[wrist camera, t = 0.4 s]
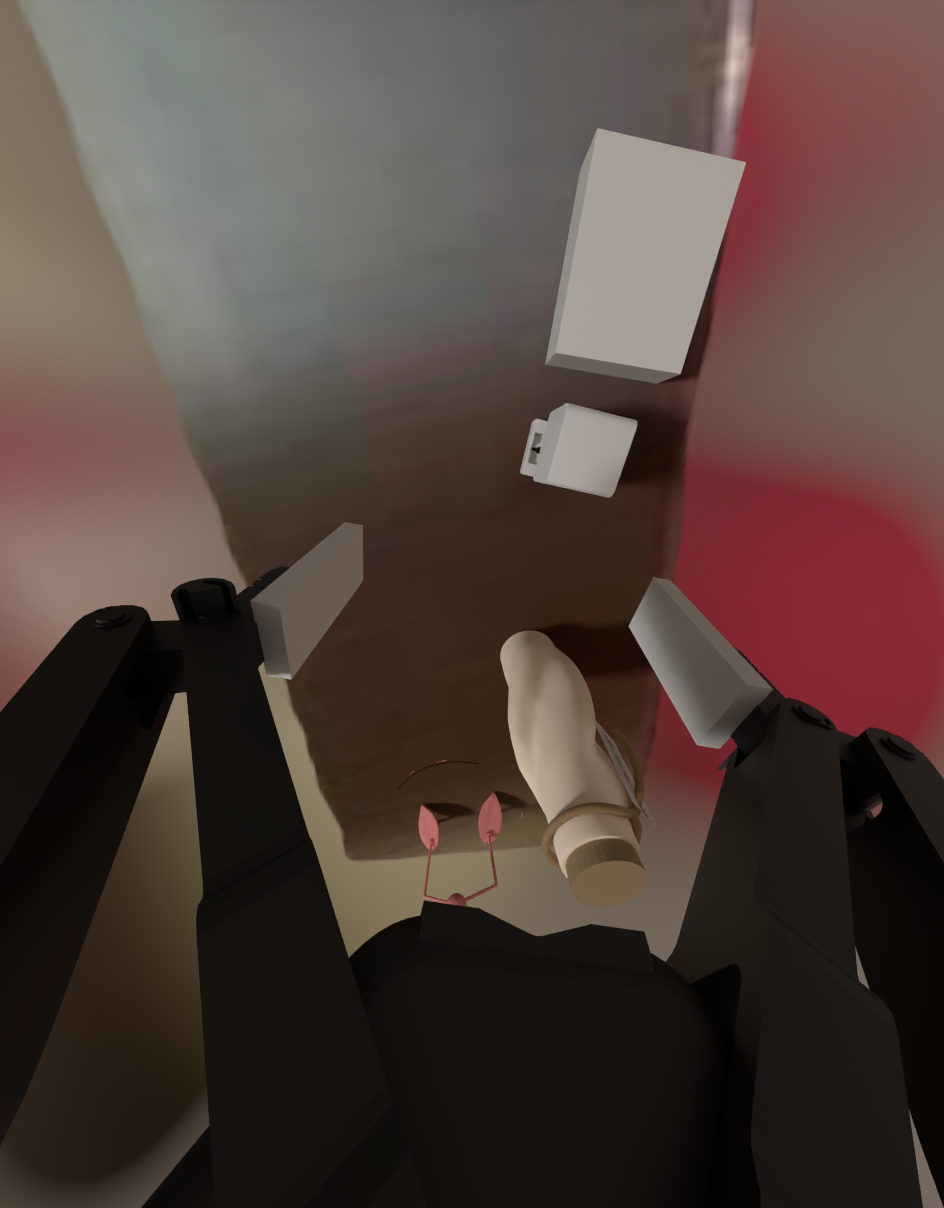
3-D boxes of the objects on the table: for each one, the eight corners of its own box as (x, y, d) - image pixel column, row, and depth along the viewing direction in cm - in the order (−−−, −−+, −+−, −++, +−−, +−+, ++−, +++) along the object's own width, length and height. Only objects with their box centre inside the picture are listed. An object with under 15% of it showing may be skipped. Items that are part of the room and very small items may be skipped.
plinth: (579, 171, 29) (597, 128, 25) (710, 199, 30) (746, 162, 26) (545, 364, 34) (555, 352, 30) (657, 383, 35) (680, 374, 31)
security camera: (576, 490, 39) (613, 498, 30) (518, 477, 38) (537, 481, 29) (595, 430, 37) (640, 419, 27) (533, 415, 36) (559, 398, 27)
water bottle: (525, 606, 44) (616, 804, 19) (578, 637, 46) (725, 855, 21) (483, 663, 48) (510, 900, 22) (533, 690, 50) (613, 935, 24)
